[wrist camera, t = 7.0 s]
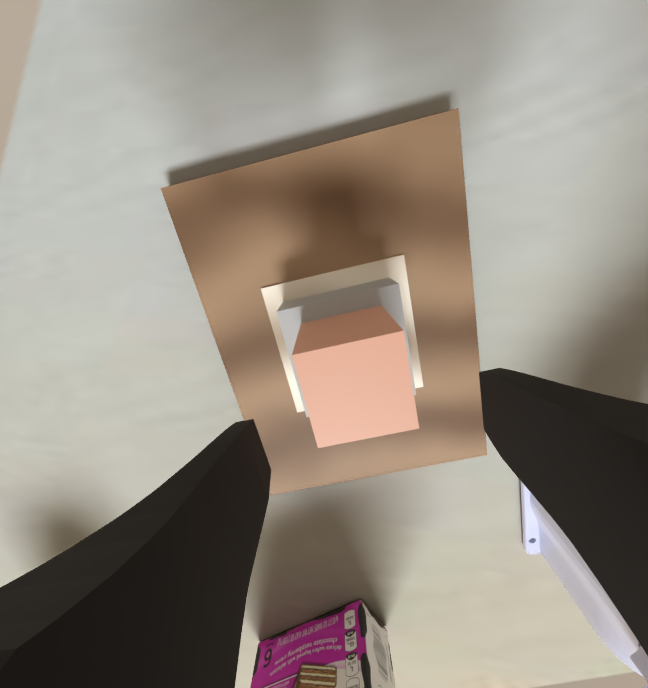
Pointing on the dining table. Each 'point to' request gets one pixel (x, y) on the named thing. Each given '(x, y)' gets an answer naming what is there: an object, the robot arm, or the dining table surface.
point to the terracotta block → (355, 376)
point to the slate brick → (340, 311)
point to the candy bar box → (328, 653)
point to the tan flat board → (342, 285)
